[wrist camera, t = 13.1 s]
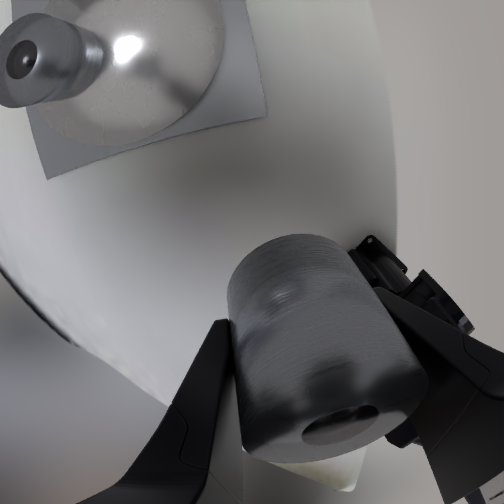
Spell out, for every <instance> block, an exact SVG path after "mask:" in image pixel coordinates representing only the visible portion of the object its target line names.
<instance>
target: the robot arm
mask: <svg viewBox="0 0 504 504" xmlns="http://www.w3.org/2000/svg"><path fill="white" fill-rule="evenodd" d="M369 238H372V239H373V240H372V242H371V243H368V242H367V241H368V239H369ZM348 255H349V256H350V258H351V259H352V261H353V262H354V263H355V265H356V266H357V268H358V269H359V270H360V272H361V273H362V275H363V276H364V277H365V279H366V280H367V282H368V283H369V285H370V286H371V288H372V289H373V291H374V292H375V293H376V295H377V296H378V298H379V299H380V301H381V302H382V304H383V305H384V307H385V308H386V310H387V311H388V313H389V314H390V316H391V317H392V319H393V321H394V322H395V324H396V325H397V327H398V328H399V330H400V331H401V333H402V335H403V336H404V338H405V339H406V341H407V342H408V344H409V346H410V347H411V349H412V351H413V352H414V354H415V355H416V357H417V359H418V360H419V362H420V364H421V365H422V367H423V369H424V370H425V372H426V374H427V376H428V379H429V386H428V390H427V393H426V395H425V397H424V399H423V400H422V402H421V403H420V405H419V406H418V407H417V408H416V410H415V411H414V412H413V413H412V414H411V415H410V416H409V417H408V418H407V419H406V420H405V421H403V422H402V423H401V424H400V425H398V426H397V427H396V428H395V429H393V430H392V431H390V432H389V433H387V434H386V435H384V436H385V437H386V439H387V441H388V442H390V443H391V444H393V445H395V446H397V447H399V448H404V447H406V446H408V445H409V444H411V443H414V444H418V445H421V446H423V449H424V451H425V453H426V455H427V459H428V461H429V464H430V466H431V469H432V471H433V474H434V477H435V479H436V482H437V485H438V487H439V490H440V493H441V495H442V498H443V501H444V503H445V504H452V503H454V502H456V501H457V500H459V499H461V498H463V497H465V499H466V501H467V502H468V504H504V353H503V352H500V351H498V350H496V349H494V348H492V347H490V346H488V345H486V344H484V343H482V342H480V341H478V340H476V339H474V338H473V337H471V336H469V334H470V333H471V332H472V331H473V330H474V329H475V328H474V327H473V325H472V324H471V322H470V321H469V319H468V318H467V317H466V316H465V314H464V313H463V312H462V310H461V309H460V308H459V307H458V305H457V304H456V303H455V302H454V301H453V299H451V297H450V296H449V295H448V294H447V293H446V292H445V291H444V290H443V288H442V287H441V286H440V285H439V284H438V283H437V282H436V281H435V280H434V279H432V277H431V276H430V275H429V274H428V273H427V272H426V271H425V270H424V269H423V270H422V271H421V272H420V273H419V275H418V276H417V277H416V278H415V279H414V281H413V282H411V281H410V280H409V279H408V277H407V276H406V275H405V274H406V272H407V270H408V269H407V267H406V266H405V265H404V264H403V263H402V262H401V261H400V260H399V259H398V258H397V257H396V256H395V255H394V254H393V253H392V252H391V251H390V250H389V249H387V248H386V247H385V246H384V245H383V244H382V243H381V242H380V241H379V240H378V239H377V238H376V237H375V236H373V235H369V236H367V237H366V238H365V239H364V240H363V241H362V242H361V244H360V245H359V246H358V247H357V248H356V249H355V250H354V249H353V250H351V251H350V252H349V253H348ZM402 269H403V270H402ZM243 498H244V496H243V462H242V441H241V432H240V424H239V415H238V406H237V397H236V387H235V377H234V368H233V357H232V347H231V336H230V325H229V320H228V319H220V320H215V321H214V323H213V325H212V327H211V328H210V330H209V332H208V334H207V336H206V338H205V340H204V342H203V344H202V346H201V347H200V349H199V351H198V353H197V355H196V357H195V359H194V361H193V363H192V365H191V366H190V368H189V370H188V372H187V374H186V376H185V378H184V380H183V382H182V384H181V385H180V387H179V389H178V391H177V393H176V395H175V397H174V399H173V401H172V404H171V405H170V406H169V408H168V410H167V412H166V414H165V416H164V418H163V419H162V421H161V423H160V424H159V426H158V428H157V430H156V431H155V432H154V434H153V435H152V437H151V438H150V440H149V442H148V443H147V445H146V446H145V447H144V449H143V450H142V451H141V453H140V454H139V456H138V457H137V458H136V460H135V461H134V463H133V464H132V465H131V467H130V468H129V469H128V471H127V472H126V473H125V475H124V476H123V477H122V478H121V479H120V480H119V481H118V482H117V483H115V484H114V485H113V486H111V487H109V488H107V489H105V490H103V491H102V492H99V493H98V494H96V495H93V496H91V497H90V498H87V499H85V500H83V501H81V502H79V503H77V504H244V499H243Z"/></svg>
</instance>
